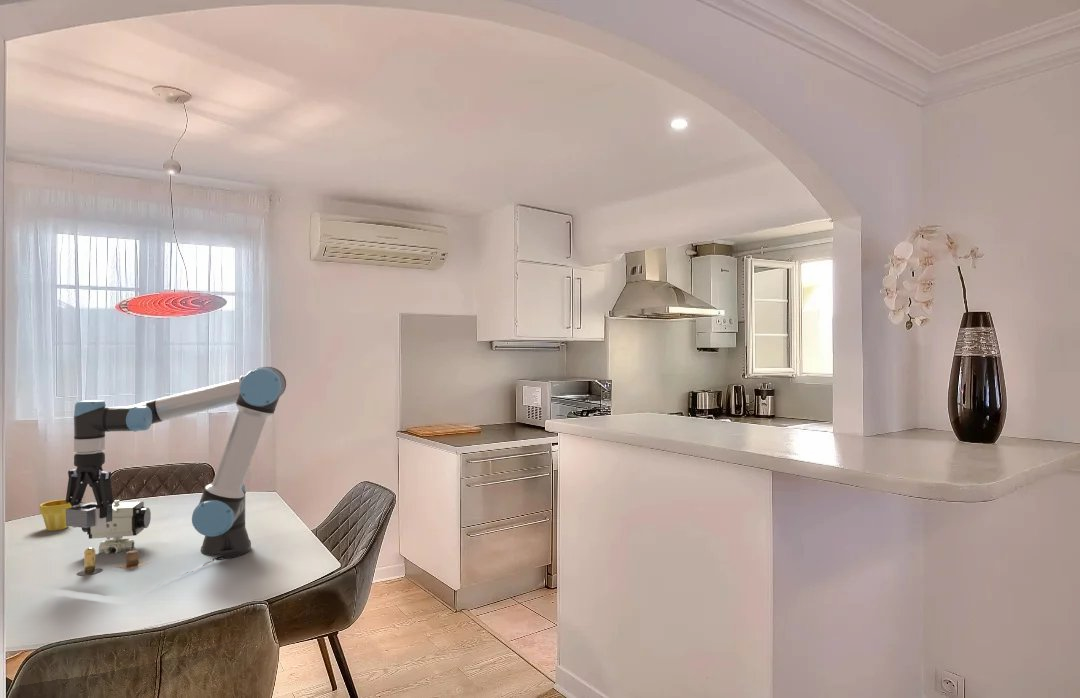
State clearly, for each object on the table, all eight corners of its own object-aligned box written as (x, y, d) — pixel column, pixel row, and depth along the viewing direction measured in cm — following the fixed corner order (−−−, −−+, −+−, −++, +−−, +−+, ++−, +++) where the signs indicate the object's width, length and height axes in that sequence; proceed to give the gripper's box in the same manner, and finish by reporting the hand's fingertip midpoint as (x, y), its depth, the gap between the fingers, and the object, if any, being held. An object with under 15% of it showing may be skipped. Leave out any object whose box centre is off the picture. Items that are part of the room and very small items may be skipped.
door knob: (108, 574, 186) (108, 545, 186) (87, 581, 180) (87, 552, 180) (91, 572, 188) (91, 543, 188) (71, 579, 181) (70, 550, 181)
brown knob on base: (148, 567, 192) (148, 549, 192) (131, 574, 186) (131, 556, 186) (133, 565, 193) (133, 548, 193) (115, 572, 187) (115, 554, 187)
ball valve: (78, 560, 197) (78, 506, 197) (90, 552, 206) (90, 499, 205) (142, 555, 202) (142, 502, 202) (151, 547, 210) (151, 496, 210)
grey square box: (112, 520, 186) (112, 504, 186) (86, 528, 179) (86, 511, 179) (91, 518, 188) (91, 502, 188) (65, 525, 181) (65, 509, 181)
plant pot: (40, 534, 225) (40, 507, 225) (39, 527, 233) (39, 502, 233) (75, 528, 232) (75, 503, 232) (73, 522, 240) (73, 497, 240)
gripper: (128, 451, 184) (128, 526, 185) (75, 448, 190) (74, 521, 190) (105, 455, 177) (104, 534, 177) (50, 452, 182) (49, 528, 183)
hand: (89, 527), depth 184 cm, fingers closed on grey square box, 8 cm apart
